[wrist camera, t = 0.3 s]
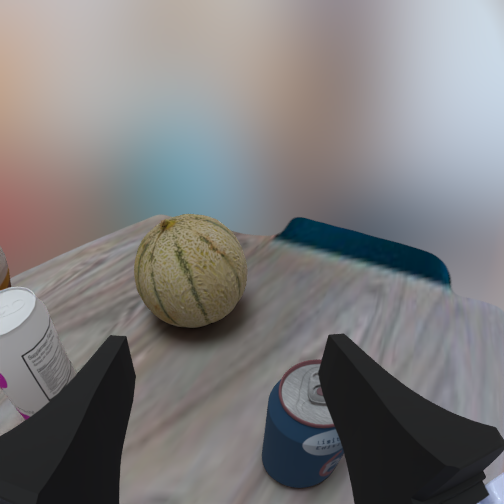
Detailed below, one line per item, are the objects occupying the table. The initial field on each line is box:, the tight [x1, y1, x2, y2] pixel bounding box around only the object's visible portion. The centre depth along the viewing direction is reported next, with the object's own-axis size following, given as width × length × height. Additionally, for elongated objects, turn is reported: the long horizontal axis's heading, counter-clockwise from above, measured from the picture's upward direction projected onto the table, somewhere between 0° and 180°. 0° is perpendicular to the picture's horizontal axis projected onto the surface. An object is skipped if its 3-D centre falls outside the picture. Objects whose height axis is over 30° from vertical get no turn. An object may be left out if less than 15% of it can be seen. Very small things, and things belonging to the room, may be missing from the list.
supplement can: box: [0, 287, 76, 420], centre depth 23 cm, size 8×8×15 cm
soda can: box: [262, 360, 344, 488], centre depth 22 cm, size 7×7×12 cm
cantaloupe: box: [134, 214, 247, 328], centre depth 40 cm, size 15×15×15 cm
